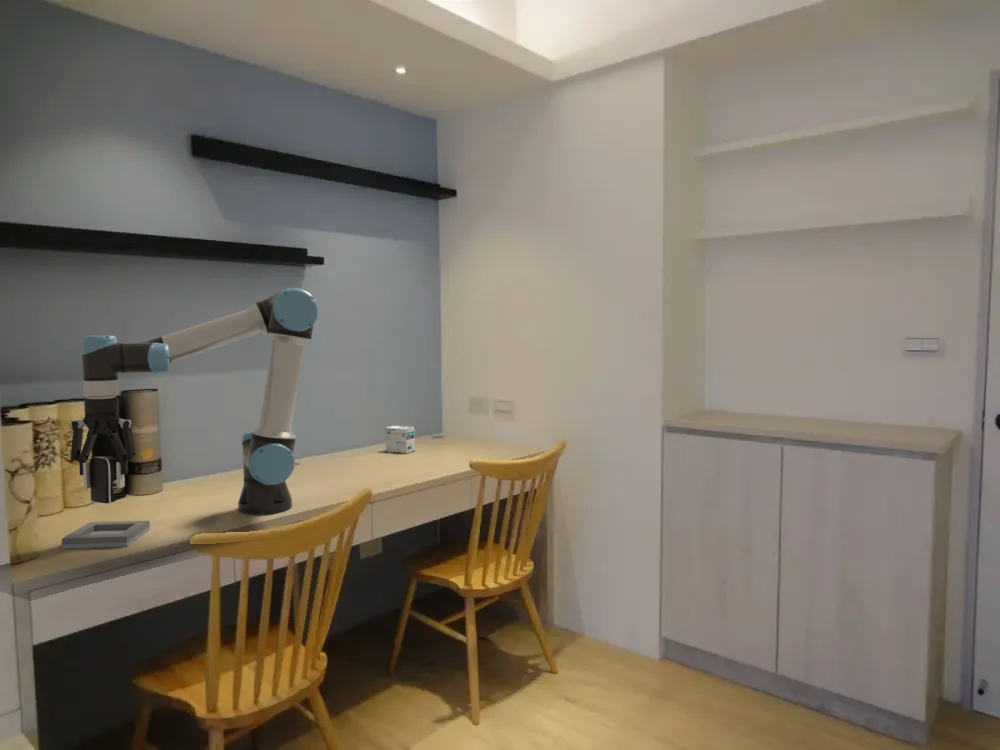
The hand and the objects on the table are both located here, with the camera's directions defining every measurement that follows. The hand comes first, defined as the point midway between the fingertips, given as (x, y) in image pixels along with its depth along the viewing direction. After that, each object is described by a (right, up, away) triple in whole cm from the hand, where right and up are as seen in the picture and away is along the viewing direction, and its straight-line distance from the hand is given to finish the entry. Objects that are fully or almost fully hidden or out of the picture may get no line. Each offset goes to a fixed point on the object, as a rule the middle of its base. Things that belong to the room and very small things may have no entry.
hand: (104, 487), depth 175 cm
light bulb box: (+57, -5, +122) cm, 135 cm away
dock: (0, -13, +1) cm, 13 cm away
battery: (0, -4, 0) cm, 4 cm away
